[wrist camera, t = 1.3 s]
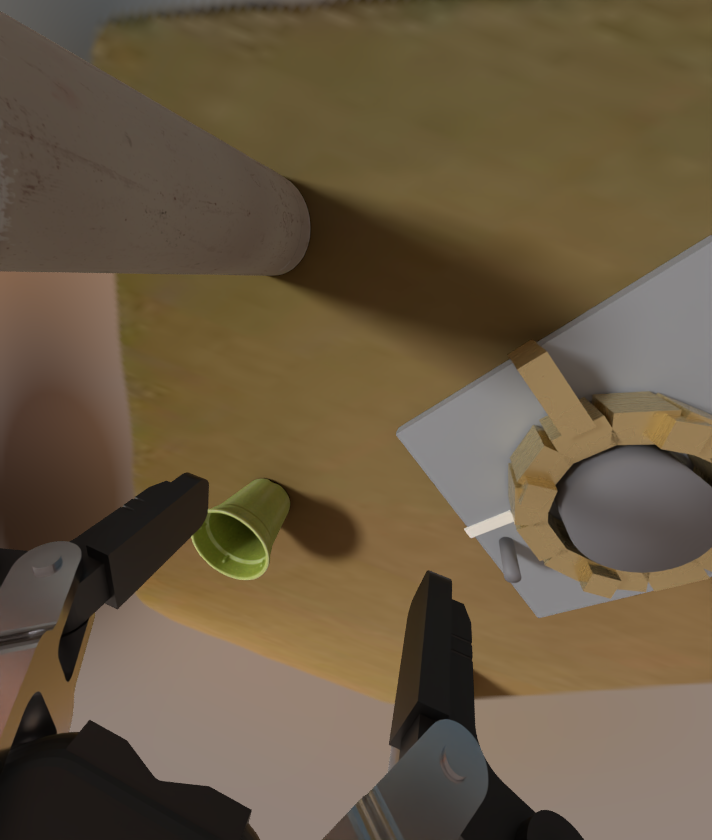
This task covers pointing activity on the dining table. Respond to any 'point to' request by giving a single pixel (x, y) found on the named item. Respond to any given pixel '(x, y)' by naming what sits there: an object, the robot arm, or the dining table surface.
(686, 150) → the dining table surface
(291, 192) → the thermos bottle
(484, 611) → the dining table surface
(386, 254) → the dining table surface
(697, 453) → the segmented wooden ring
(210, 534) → the plant pot
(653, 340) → the boss plate
